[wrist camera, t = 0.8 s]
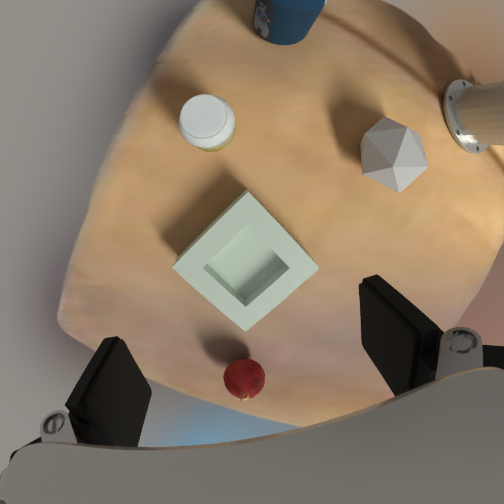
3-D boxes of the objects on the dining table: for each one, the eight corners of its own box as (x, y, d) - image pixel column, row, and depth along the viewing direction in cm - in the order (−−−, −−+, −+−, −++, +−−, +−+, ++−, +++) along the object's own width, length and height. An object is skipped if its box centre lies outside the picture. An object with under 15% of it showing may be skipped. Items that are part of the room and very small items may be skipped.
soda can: (313, 21, 26) (343, -25, 15) (294, 57, 28) (321, 13, 16) (264, 2, 25) (277, -51, 14) (243, 36, 27) (247, -15, 15)
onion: (252, 342, 39) (256, 379, 32) (268, 367, 41) (274, 404, 33) (217, 356, 40) (215, 393, 32) (235, 380, 41) (236, 417, 34)
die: (347, 185, 34) (412, 214, 28) (336, 128, 28) (415, 151, 21) (377, 155, 36) (436, 177, 29) (371, 102, 29) (439, 120, 23)
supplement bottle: (238, 146, 31) (240, 138, 22) (194, 156, 31) (178, 153, 22) (229, 104, 29) (228, 81, 20) (185, 114, 30) (167, 96, 20)
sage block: (246, 188, 33) (248, 191, 29) (310, 257, 36) (319, 268, 32) (178, 256, 35) (171, 267, 31) (244, 315, 38) (245, 331, 34)
